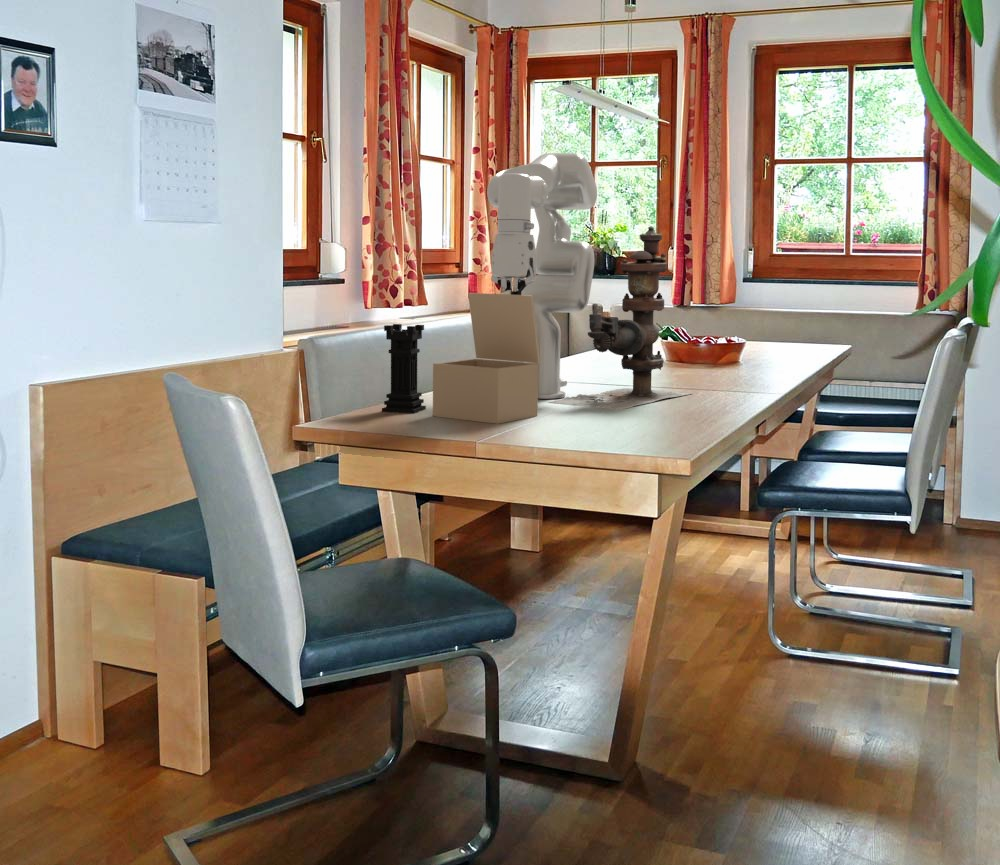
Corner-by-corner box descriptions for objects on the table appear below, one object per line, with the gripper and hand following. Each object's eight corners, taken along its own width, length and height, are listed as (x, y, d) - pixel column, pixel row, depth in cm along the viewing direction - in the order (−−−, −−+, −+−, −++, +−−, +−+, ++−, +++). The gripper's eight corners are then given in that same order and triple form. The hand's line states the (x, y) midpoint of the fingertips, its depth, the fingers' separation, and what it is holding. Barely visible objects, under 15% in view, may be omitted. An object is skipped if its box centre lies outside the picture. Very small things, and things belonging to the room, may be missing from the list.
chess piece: (425, 409, 265) (426, 324, 262) (414, 413, 258) (414, 326, 255) (394, 407, 268) (394, 323, 264) (381, 411, 260) (381, 325, 257)
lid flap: (476, 358, 265) (487, 352, 269) (538, 362, 255) (548, 357, 259) (468, 293, 260) (479, 288, 263) (531, 296, 250) (542, 291, 253)
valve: (619, 411, 270) (630, 222, 262) (548, 402, 281) (556, 220, 273) (693, 396, 304) (704, 228, 297) (627, 388, 315) (636, 226, 308)
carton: (474, 408, 267) (474, 358, 265) (537, 415, 257) (538, 363, 255) (432, 416, 254) (433, 363, 252) (497, 423, 244) (498, 369, 242)
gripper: (551, 229, 256) (548, 309, 258) (496, 229, 265) (494, 307, 267) (532, 227, 250) (530, 310, 252) (477, 228, 259) (475, 307, 261)
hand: (512, 308), depth 260 cm, fingers closed
